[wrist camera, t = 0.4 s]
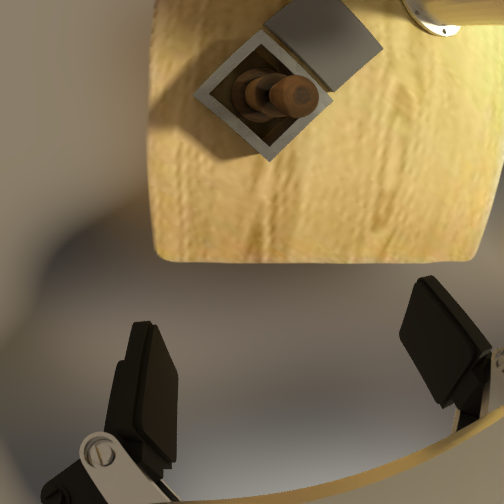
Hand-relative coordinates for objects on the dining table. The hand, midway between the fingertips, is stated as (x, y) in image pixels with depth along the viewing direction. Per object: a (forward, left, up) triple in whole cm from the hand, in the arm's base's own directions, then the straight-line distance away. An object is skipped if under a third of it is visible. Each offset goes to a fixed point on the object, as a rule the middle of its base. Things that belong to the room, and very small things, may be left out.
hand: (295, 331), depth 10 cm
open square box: (-7, -3, -29) cm, 30 cm away
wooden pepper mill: (-7, -3, -30) cm, 31 cm away
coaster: (-19, -3, -29) cm, 35 cm away
